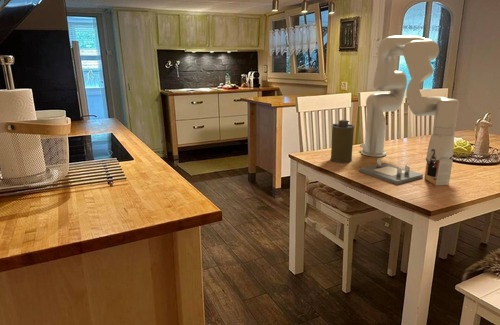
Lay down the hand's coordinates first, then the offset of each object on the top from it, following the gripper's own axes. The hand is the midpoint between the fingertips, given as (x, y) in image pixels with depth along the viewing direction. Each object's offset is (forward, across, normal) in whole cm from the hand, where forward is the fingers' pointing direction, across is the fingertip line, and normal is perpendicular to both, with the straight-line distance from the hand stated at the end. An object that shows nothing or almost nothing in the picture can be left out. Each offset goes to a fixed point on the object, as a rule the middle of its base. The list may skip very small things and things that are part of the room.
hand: (437, 174), depth 136 cm
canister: (+4, +10, -44) cm, 45 cm away
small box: (+4, 0, 0) cm, 4 cm away
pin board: (+3, +8, -16) cm, 18 cm away
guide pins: (+2, +8, -16) cm, 18 cm away
